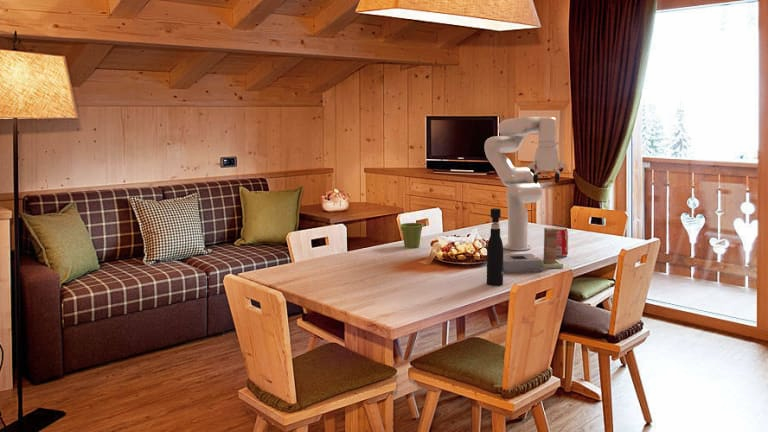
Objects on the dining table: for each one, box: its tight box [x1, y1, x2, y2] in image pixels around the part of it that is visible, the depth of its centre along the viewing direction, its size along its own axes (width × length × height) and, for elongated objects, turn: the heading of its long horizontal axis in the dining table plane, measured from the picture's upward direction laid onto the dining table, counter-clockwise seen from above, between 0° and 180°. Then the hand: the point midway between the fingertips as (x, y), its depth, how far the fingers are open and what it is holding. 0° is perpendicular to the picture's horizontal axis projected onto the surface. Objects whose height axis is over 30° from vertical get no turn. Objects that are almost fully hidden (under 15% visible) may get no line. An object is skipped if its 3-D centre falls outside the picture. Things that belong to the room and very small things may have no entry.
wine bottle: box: [486, 207, 504, 287], centre depth 296 cm, size 6×6×30 cm
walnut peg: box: [543, 227, 557, 264], centre depth 327 cm, size 4×4×16 cm
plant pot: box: [399, 222, 424, 249], centre depth 373 cm, size 12×12×11 cm
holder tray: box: [541, 259, 564, 270], centre depth 328 cm, size 9×9×2 cm
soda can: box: [553, 226, 569, 258], centre depth 348 cm, size 7×7×13 cm
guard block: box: [503, 253, 543, 274], centre depth 323 cm, size 14×16×5 cm
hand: (546, 182), depth 341 cm, fingers open, 9 cm apart
